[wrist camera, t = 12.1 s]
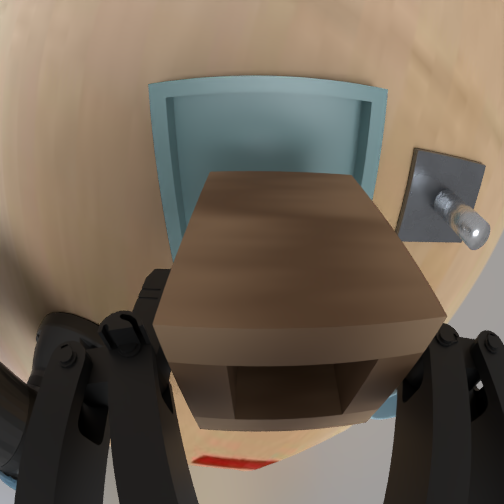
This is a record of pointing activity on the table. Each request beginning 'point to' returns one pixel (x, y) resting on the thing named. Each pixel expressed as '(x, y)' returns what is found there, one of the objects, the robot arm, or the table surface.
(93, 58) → the table surface
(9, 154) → the table surface
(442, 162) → the knob mounting plate
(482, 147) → the table surface
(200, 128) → the tray
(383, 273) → the bored block
